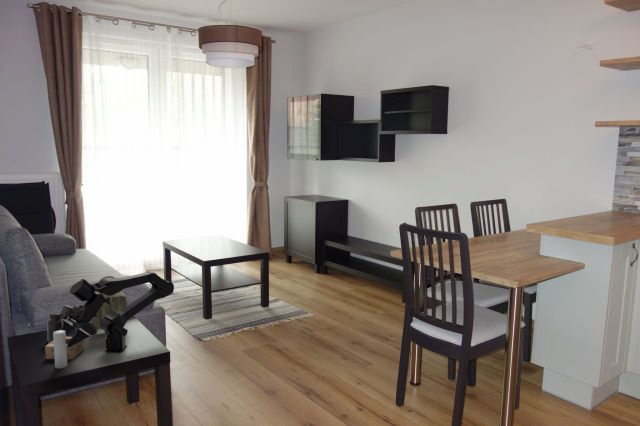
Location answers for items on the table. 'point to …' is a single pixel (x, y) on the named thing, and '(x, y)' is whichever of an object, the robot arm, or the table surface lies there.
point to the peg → (60, 349)
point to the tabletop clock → (110, 306)
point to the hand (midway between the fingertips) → (62, 343)
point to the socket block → (71, 350)
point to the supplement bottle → (53, 324)
